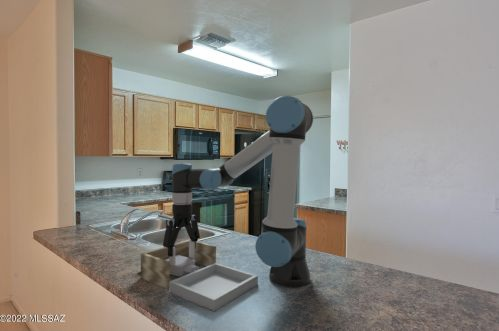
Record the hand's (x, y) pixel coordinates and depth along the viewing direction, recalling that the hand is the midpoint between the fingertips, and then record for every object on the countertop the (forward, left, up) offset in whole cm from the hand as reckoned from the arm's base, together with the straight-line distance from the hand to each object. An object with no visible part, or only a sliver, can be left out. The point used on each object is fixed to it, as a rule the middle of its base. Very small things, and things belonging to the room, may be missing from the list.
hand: (182, 260), depth 112 cm
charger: (-1, 0, -5) cm, 5 cm away
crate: (+1, 0, -5) cm, 5 cm away
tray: (-19, +2, -5) cm, 20 cm away
